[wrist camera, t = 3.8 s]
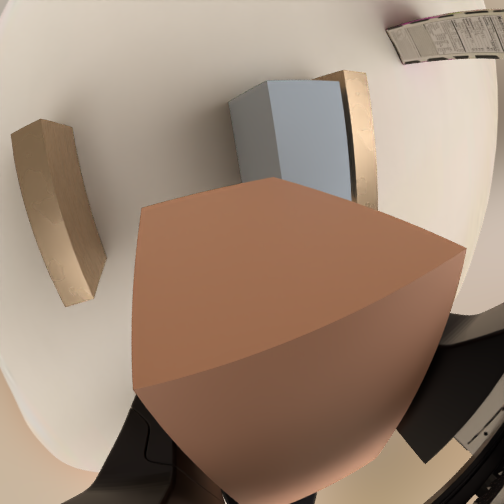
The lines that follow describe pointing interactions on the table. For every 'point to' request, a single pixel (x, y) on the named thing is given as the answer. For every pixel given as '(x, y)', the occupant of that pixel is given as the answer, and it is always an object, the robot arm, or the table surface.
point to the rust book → (284, 331)
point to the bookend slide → (59, 208)
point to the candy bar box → (451, 37)
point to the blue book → (293, 134)
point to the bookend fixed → (358, 135)
